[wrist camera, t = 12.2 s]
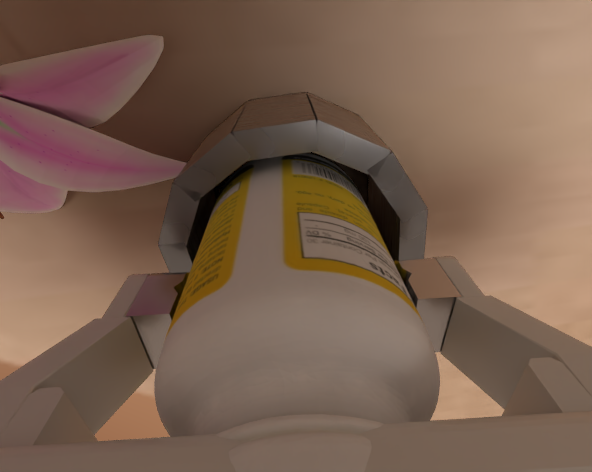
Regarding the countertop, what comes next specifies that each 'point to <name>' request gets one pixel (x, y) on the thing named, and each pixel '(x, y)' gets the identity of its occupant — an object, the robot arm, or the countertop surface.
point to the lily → (73, 125)
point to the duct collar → (287, 141)
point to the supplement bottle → (294, 326)
